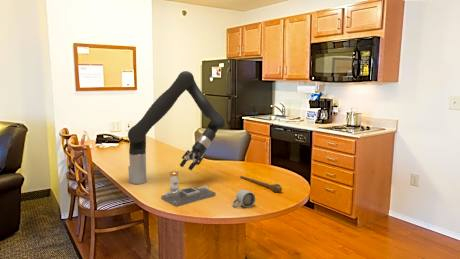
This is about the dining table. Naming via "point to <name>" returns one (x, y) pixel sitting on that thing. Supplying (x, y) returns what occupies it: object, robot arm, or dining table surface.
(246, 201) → the ceramic mug
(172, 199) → the coupling base
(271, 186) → the torque wrench
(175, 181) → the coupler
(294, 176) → the dining table surface
